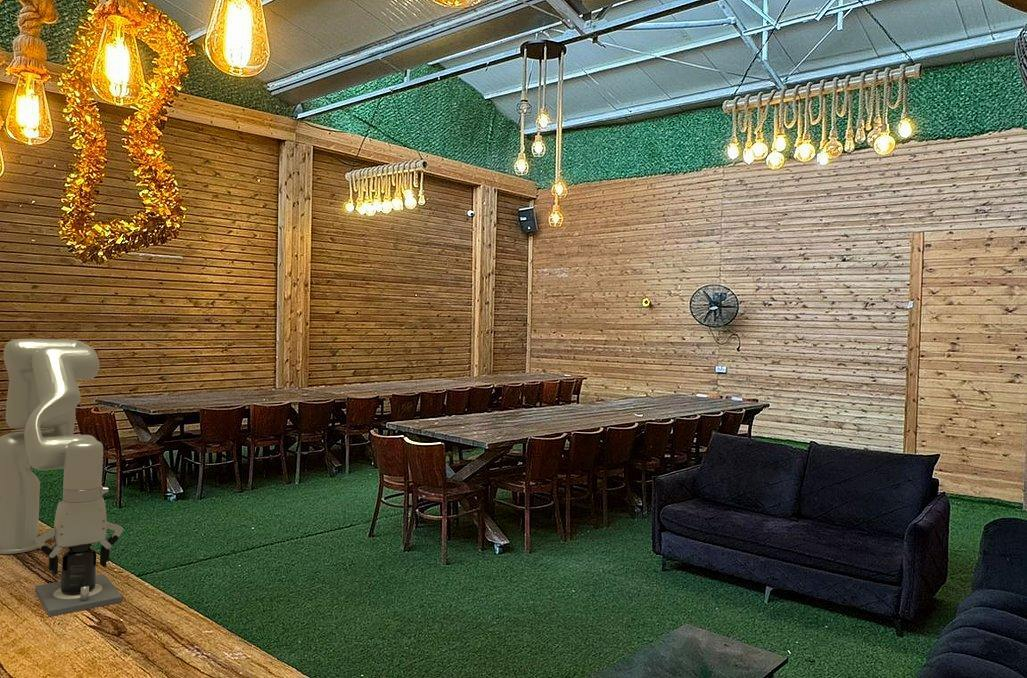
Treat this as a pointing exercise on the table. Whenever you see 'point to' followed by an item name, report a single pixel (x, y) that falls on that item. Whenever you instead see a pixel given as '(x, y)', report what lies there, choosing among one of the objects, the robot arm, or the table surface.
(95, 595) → the board
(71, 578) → the supplement bottle
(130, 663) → the table surface
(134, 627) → the table surface
